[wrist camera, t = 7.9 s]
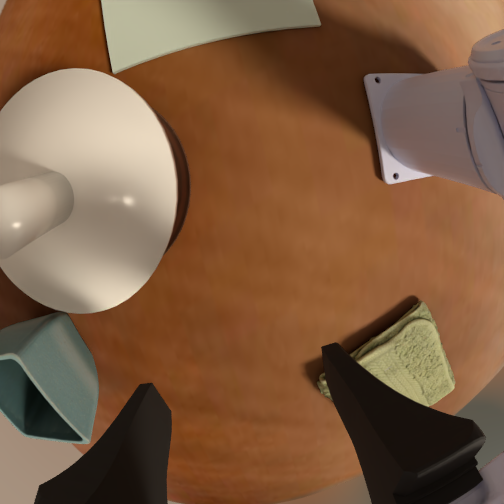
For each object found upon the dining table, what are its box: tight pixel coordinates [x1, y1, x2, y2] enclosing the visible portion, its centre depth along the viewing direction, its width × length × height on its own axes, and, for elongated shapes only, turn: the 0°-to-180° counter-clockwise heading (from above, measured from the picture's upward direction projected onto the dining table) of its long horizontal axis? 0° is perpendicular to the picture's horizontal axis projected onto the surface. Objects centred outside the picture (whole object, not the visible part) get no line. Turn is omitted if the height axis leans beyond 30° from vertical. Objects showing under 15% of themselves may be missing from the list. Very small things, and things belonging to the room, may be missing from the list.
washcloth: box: [317, 301, 455, 407], centre depth 26 cm, size 13×18×3 cm
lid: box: [0, 68, 178, 314], centre depth 10 cm, size 12×12×5 cm
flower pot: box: [0, 312, 99, 444], centre depth 17 cm, size 9×9×9 cm
